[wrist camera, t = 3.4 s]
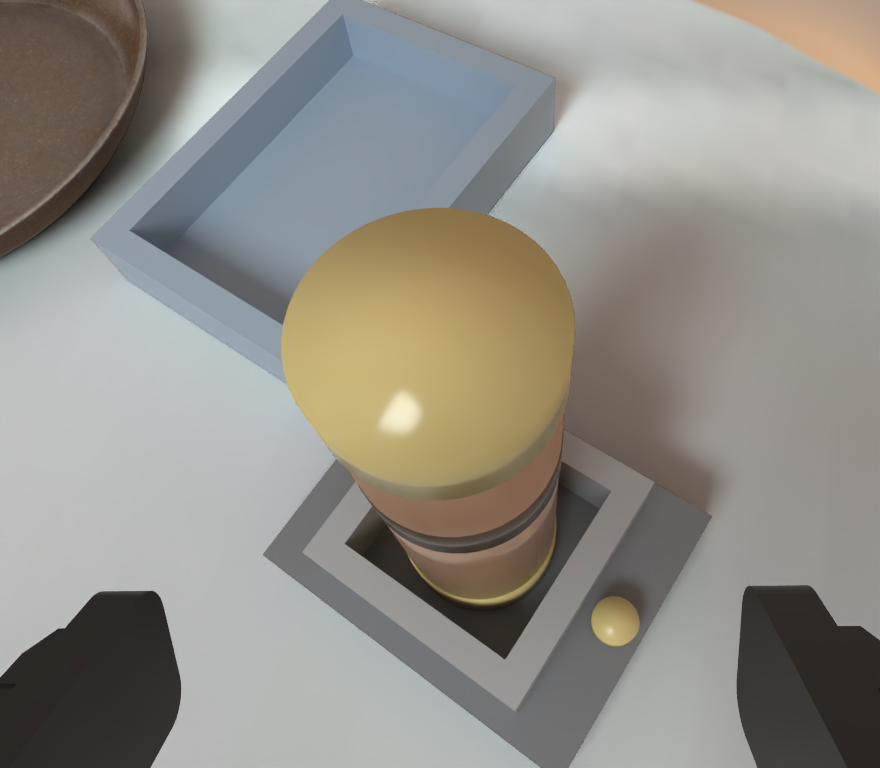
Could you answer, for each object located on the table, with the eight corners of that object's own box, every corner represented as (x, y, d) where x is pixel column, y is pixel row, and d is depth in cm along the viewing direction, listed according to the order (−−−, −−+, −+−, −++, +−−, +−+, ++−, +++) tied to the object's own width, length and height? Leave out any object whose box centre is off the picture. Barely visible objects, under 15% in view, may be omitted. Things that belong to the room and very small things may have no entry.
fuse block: (278, 565, 23) (238, 538, 20) (428, 368, 25) (413, 316, 22) (558, 778, 20) (562, 787, 16) (701, 529, 22) (729, 495, 19)
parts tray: (126, 279, 28) (90, 238, 26) (352, 44, 32) (338, -9, 30) (329, 411, 25) (308, 378, 23) (553, 130, 29) (555, 77, 27)
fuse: (382, 555, 21) (222, 368, 10) (463, 442, 22) (396, 169, 12) (503, 642, 20) (462, 529, 9) (582, 516, 21) (631, 284, 10)
